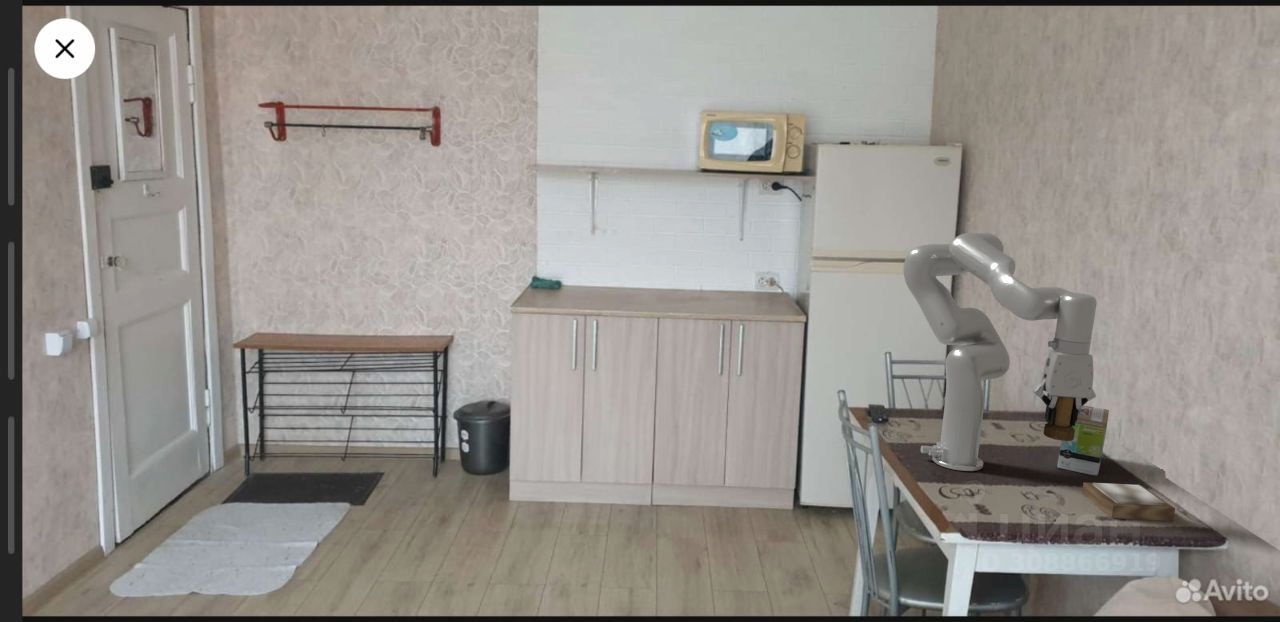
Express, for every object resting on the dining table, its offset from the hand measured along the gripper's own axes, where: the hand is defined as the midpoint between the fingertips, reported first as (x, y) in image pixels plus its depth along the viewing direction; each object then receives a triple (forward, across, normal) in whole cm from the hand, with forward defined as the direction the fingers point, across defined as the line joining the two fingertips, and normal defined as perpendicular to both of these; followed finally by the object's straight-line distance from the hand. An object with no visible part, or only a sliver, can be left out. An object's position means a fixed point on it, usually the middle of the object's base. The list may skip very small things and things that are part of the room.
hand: (1060, 422), depth 207 cm
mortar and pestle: (+4, 0, 0) cm, 4 cm away
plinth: (+19, +17, -2) cm, 26 cm away
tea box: (+19, +20, +27) cm, 39 cm away
